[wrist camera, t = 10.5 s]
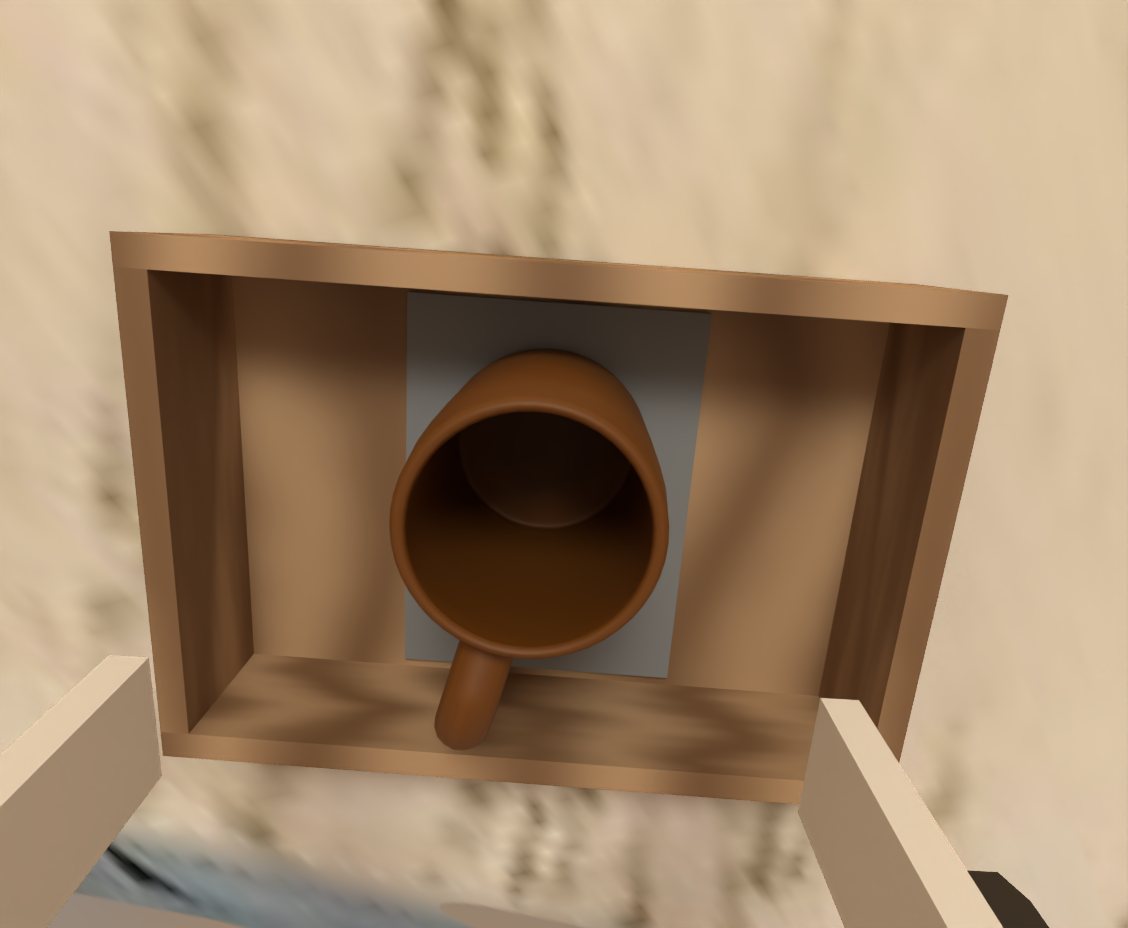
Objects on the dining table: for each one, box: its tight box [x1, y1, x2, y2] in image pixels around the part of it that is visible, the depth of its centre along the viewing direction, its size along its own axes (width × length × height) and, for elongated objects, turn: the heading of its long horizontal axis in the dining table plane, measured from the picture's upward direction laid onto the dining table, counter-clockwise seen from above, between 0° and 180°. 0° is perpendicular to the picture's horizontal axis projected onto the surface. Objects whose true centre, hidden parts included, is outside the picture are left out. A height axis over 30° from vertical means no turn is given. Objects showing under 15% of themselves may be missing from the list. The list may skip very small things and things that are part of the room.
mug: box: [389, 348, 669, 751], centre depth 24 cm, size 12×8×9 cm, turn 162°
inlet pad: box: [405, 292, 712, 678], centre depth 29 cm, size 11×15×1 cm
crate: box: [109, 231, 1008, 804], centre depth 27 cm, size 26×18×6 cm
